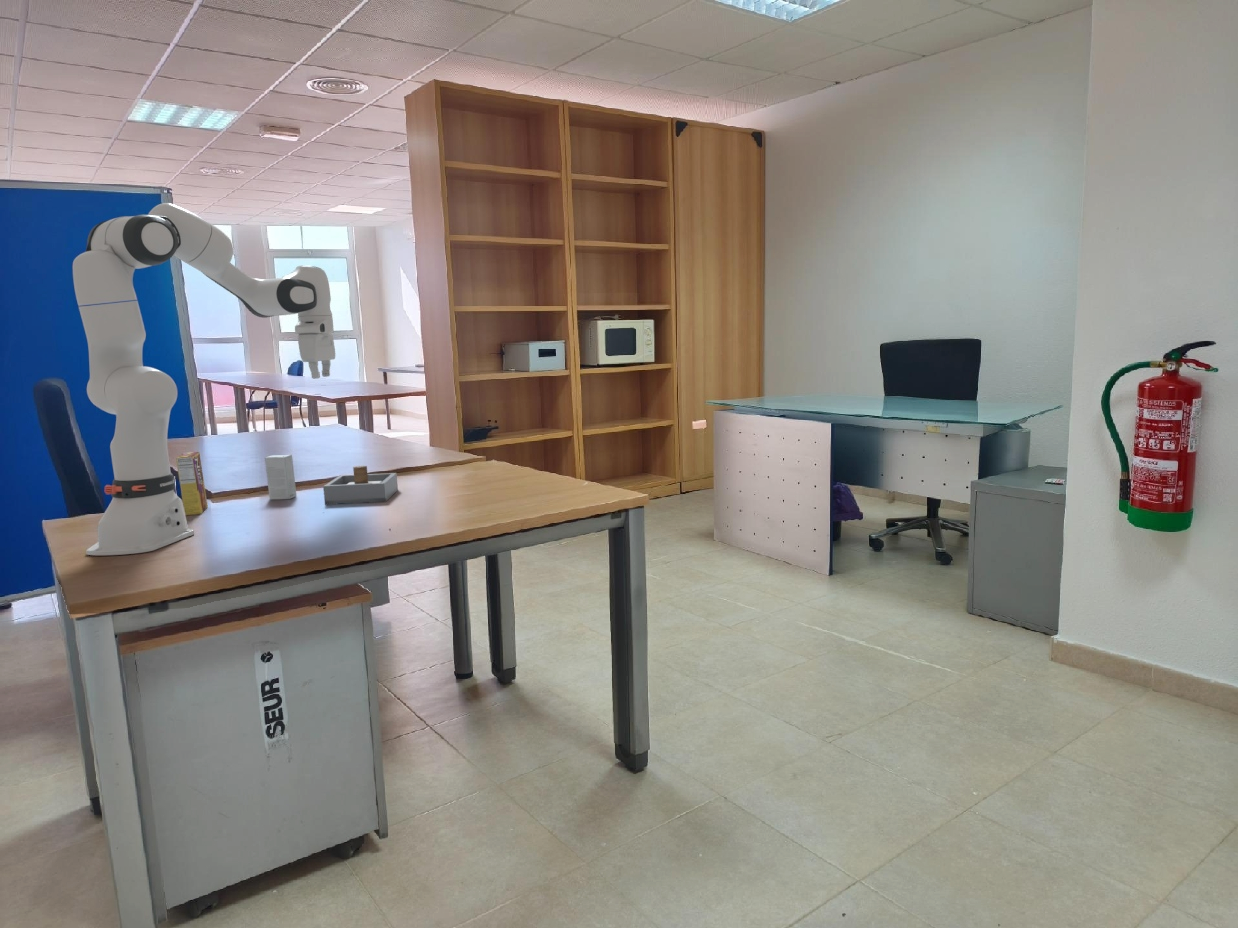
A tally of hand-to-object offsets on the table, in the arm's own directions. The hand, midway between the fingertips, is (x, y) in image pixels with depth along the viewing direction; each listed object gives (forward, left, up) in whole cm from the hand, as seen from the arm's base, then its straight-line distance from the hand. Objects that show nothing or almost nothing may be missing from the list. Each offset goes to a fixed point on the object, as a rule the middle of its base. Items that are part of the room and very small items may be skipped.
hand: (321, 377), depth 220 cm
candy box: (-15, +31, -33) cm, 48 cm away
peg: (-6, -10, -32) cm, 34 cm away
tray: (-6, -10, -33) cm, 35 cm away
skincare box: (-2, +13, -33) cm, 36 cm away
